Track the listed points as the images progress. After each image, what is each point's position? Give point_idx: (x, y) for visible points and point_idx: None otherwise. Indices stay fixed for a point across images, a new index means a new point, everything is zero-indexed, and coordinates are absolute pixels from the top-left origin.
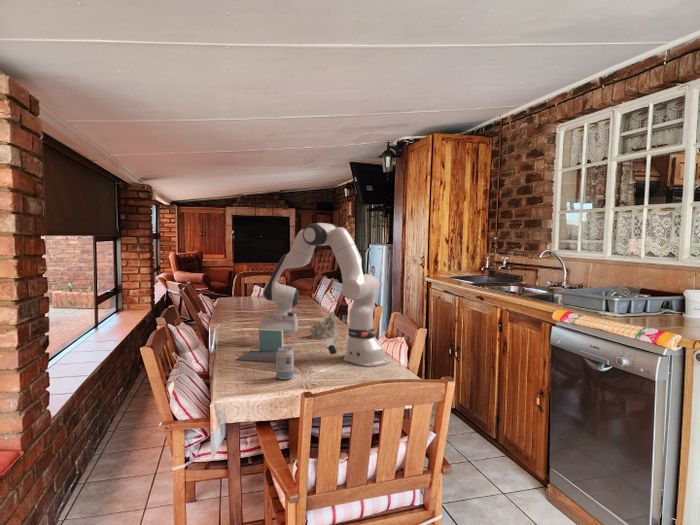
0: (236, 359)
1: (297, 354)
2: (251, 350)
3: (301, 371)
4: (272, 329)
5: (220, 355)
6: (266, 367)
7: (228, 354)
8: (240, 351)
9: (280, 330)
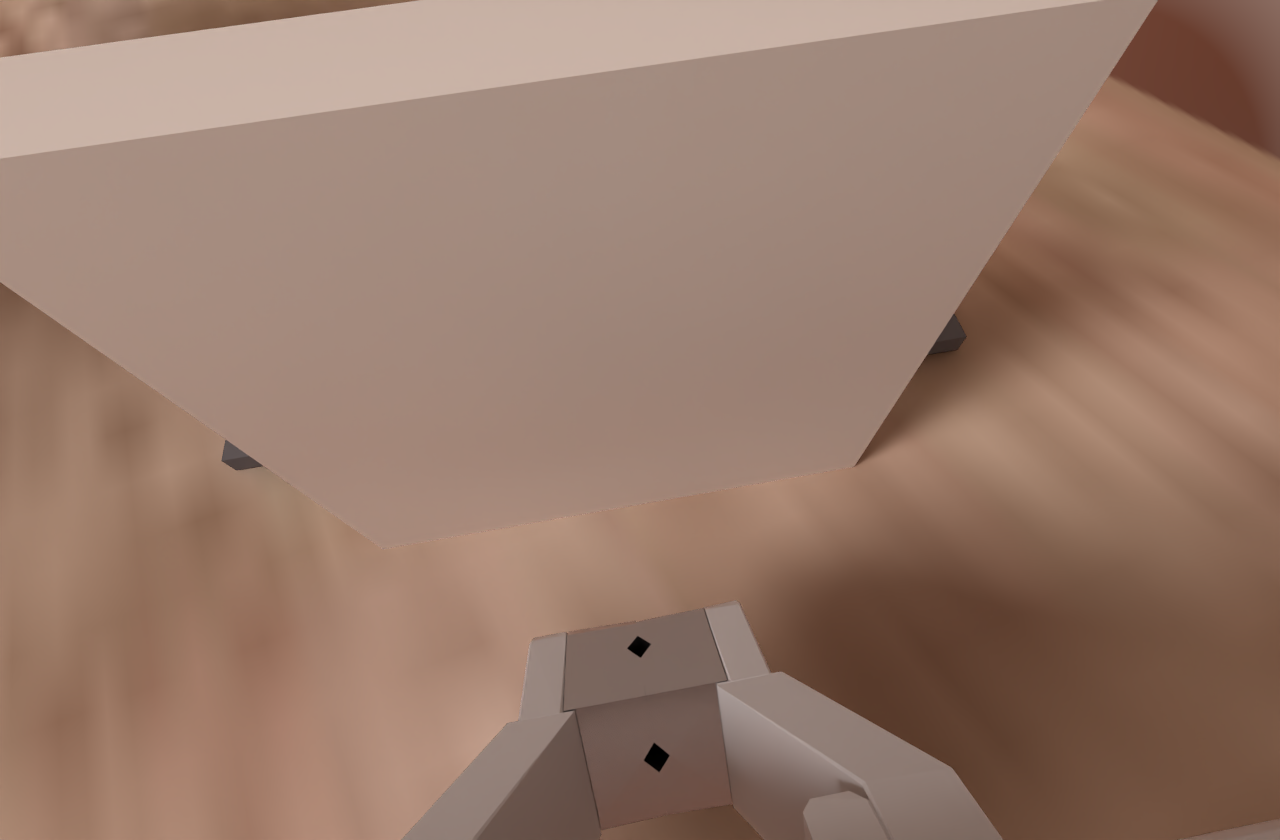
0: None
1: (74, 492)
2: (943, 337)
3: (12, 25)
4: (482, 79)
5: (1136, 92)
6: (369, 2)
7: (1097, 147)
8: (1108, 303)
9: (12, 67)
